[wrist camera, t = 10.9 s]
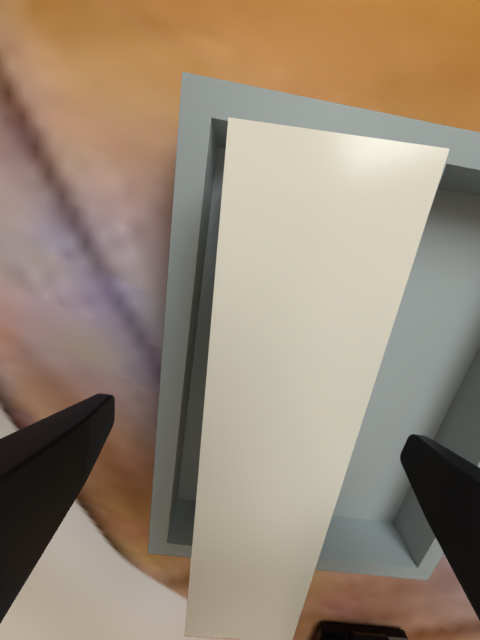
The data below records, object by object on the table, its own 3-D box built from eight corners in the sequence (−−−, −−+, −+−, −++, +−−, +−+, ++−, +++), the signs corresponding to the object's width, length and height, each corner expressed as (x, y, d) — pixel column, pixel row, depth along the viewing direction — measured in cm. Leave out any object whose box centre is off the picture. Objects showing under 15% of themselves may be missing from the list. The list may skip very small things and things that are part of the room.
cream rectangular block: (271, 493, 13) (291, 642, 8) (204, 488, 13) (184, 636, 8) (333, 199, 9) (449, 148, 4) (233, 186, 9) (228, 116, 4)
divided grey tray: (390, 514, 15) (427, 580, 12) (165, 490, 14) (147, 553, 11) (546, 193, 10) (677, 173, 7) (200, 126, 9) (182, 71, 6)
